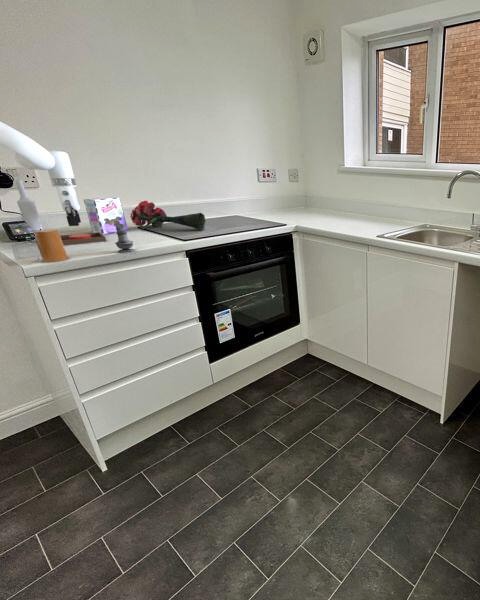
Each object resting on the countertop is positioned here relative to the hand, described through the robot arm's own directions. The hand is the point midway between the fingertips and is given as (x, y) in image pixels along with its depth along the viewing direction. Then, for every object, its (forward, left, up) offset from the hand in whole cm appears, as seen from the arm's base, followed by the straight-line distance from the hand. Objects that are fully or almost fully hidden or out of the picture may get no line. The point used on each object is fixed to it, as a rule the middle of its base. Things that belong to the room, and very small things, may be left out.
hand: (75, 224), depth 152 cm
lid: (0, 0, -5) cm, 5 cm away
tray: (0, 0, -7) cm, 7 cm away
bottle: (-13, +11, -8) cm, 18 cm away
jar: (-11, -33, -7) cm, 35 cm away
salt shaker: (+10, -33, -8) cm, 35 cm away
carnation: (+38, +10, -8) cm, 41 cm away
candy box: (+13, +16, -8) cm, 22 cm away
